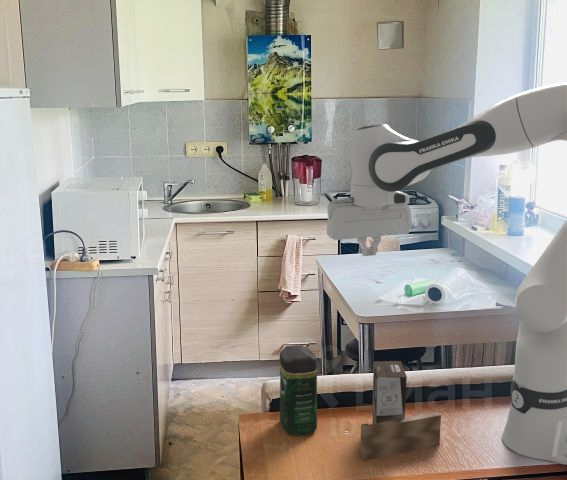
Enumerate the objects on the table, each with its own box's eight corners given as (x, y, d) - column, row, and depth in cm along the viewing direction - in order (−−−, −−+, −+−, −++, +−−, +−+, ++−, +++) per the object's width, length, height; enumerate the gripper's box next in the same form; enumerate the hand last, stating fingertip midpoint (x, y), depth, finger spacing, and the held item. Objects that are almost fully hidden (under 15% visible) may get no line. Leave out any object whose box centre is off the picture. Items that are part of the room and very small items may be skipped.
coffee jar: (321, 434, 152) (321, 356, 148) (286, 439, 150) (286, 359, 146) (309, 415, 161) (309, 340, 157) (276, 419, 159) (275, 343, 155)
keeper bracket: (426, 433, 152) (427, 404, 151) (439, 445, 147) (441, 415, 146) (352, 447, 147) (352, 417, 145) (363, 460, 141) (364, 429, 140)
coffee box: (405, 447, 146) (407, 377, 143) (374, 447, 147) (376, 376, 143) (400, 427, 155) (402, 360, 152) (371, 426, 156) (373, 359, 152)
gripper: (333, 201, 150) (332, 262, 153) (415, 195, 156) (413, 254, 159) (322, 197, 156) (322, 256, 159) (402, 191, 162) (400, 248, 165)
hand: (368, 255), depth 159 cm, fingers closed
